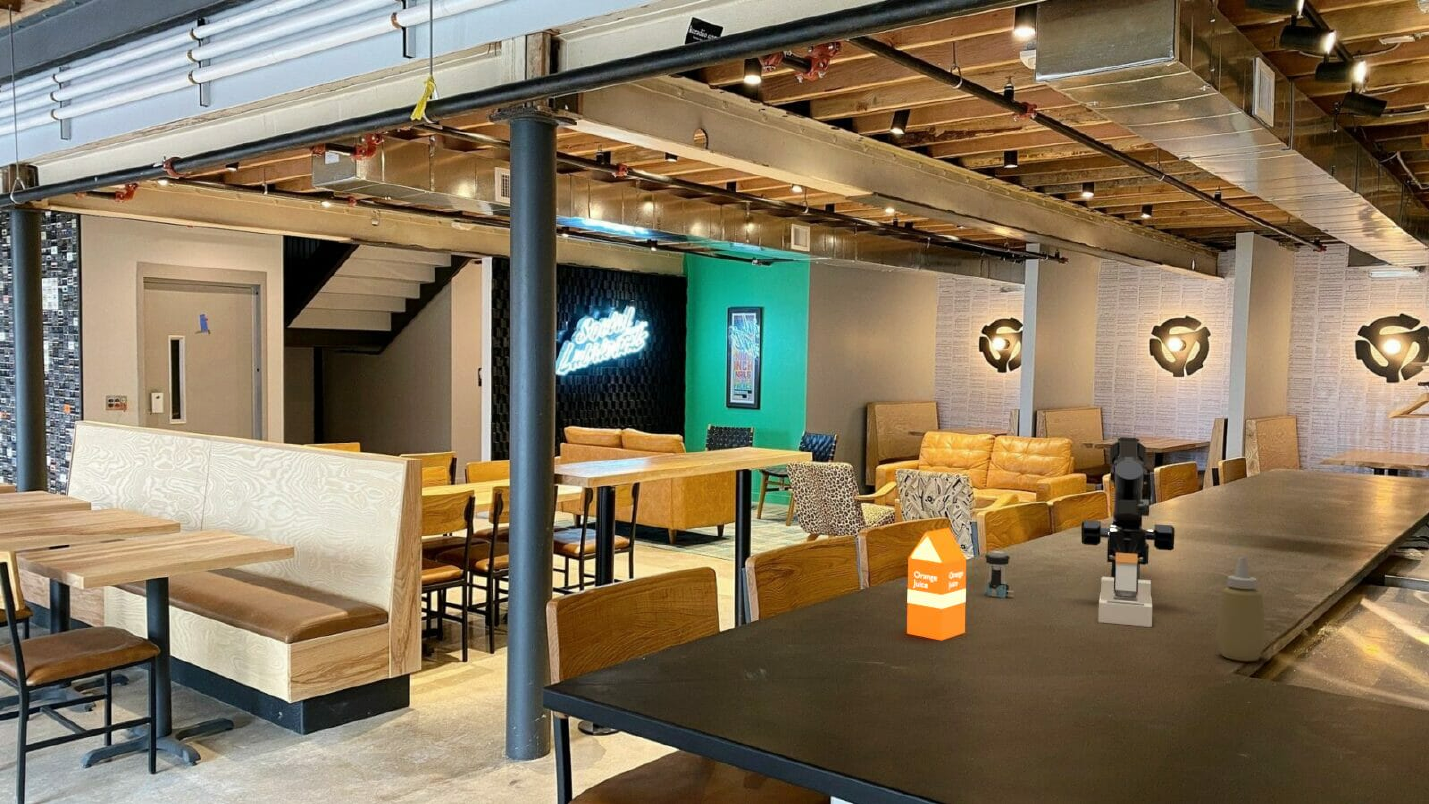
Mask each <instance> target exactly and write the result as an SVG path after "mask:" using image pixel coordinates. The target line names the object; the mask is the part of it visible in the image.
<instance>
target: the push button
mask: <svg viewBox="0 0 1429 804" xmlns="http://www.w3.org/2000/svg"><path fill="white" fill-rule="evenodd" d="M984 558H985V562H986V564H988V570H989V571H988V579H987V581H988V583H985V593H984V594H985V595H986V596H989V597H996V598H1003V599H1004V598H1007V597H1015V595H1013V594H1010V593H1014V592H1015V591H1013V590H1010V586H1009V584H1007V581H1006V565H1008V564H1010V563H1009V561H1010V558H1011V557H1010V556H1009V555H1007V552H1006V551H1003V550H989V553H988V554H985V556H984Z"/></svg>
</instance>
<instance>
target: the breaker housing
mask: <svg viewBox="0 0 1429 804" xmlns="http://www.w3.org/2000/svg"><path fill="white" fill-rule="evenodd" d="M1100 583H1101V584H1100V585H1101V587H1100V593H1099V601H1098V623H1102V624H1113V625H1115V624H1116V625H1125V626H1136V627H1147V628H1152V627H1153V601H1152V596H1151V592H1152V583H1151V579H1140V580H1139V579H1138V590H1137V594H1136V598H1129V597H1117V596H1115V589H1114V578H1113V577H1111V576H1101V581H1100Z"/></svg>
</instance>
